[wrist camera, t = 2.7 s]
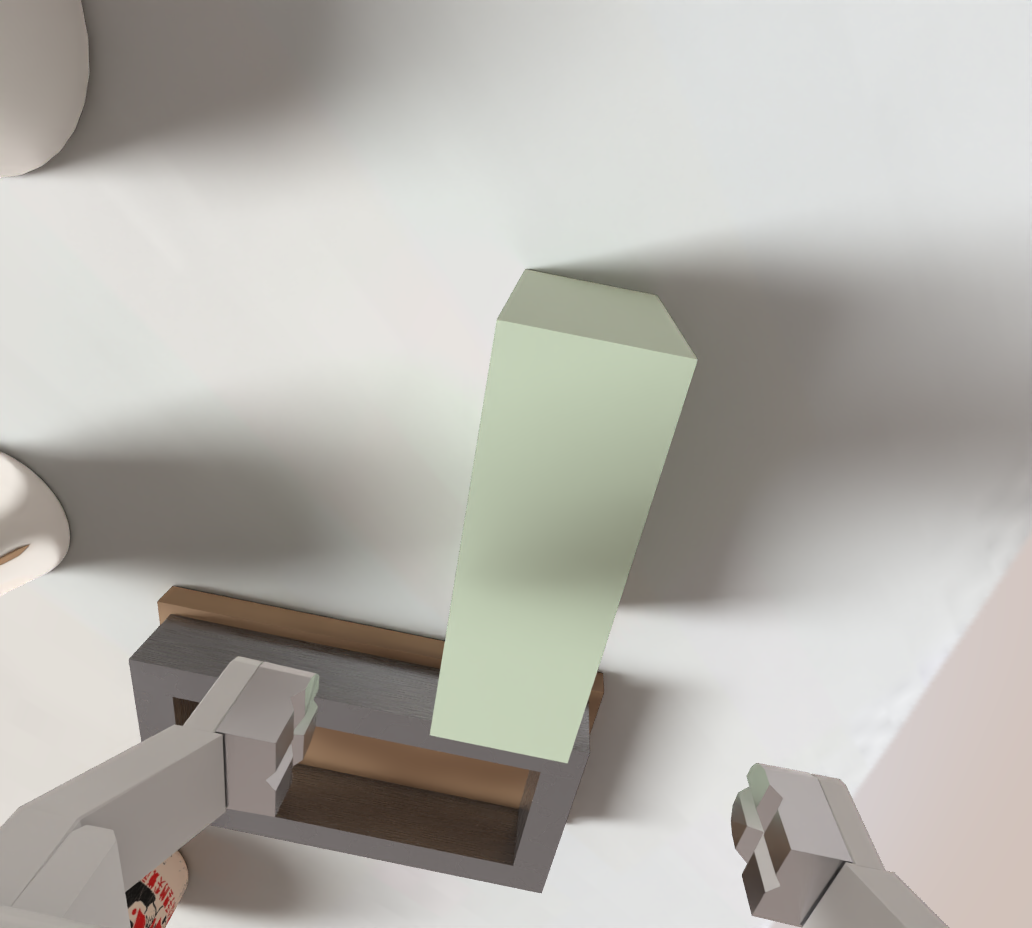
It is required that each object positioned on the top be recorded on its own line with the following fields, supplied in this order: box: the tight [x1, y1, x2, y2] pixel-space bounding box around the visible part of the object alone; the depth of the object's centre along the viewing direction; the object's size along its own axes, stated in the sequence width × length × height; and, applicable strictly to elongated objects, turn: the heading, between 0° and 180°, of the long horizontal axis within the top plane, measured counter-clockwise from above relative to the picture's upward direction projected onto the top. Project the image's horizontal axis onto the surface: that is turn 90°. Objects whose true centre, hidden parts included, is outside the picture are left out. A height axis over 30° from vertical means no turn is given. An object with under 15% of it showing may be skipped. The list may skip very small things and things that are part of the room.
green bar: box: [430, 269, 698, 763], centre depth 17 cm, size 12×4×7 cm, turn 170°
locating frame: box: [129, 586, 604, 893], centre depth 25 cm, size 10×18×4 cm, turn 80°
